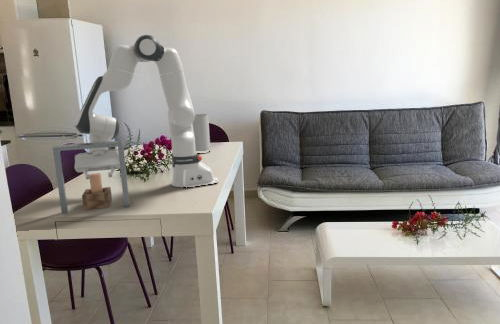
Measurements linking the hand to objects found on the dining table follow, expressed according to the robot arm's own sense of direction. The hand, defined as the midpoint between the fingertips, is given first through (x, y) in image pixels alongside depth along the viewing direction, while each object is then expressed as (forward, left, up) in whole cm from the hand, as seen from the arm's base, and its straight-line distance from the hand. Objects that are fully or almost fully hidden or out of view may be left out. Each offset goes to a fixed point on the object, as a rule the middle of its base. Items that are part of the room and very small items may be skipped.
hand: (99, 177), depth 189 cm
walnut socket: (0, +10, -9) cm, 14 cm away
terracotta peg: (0, +10, -8) cm, 13 cm away
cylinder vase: (-53, -94, -10) cm, 108 cm away
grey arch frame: (0, +14, -9) cm, 17 cm away
